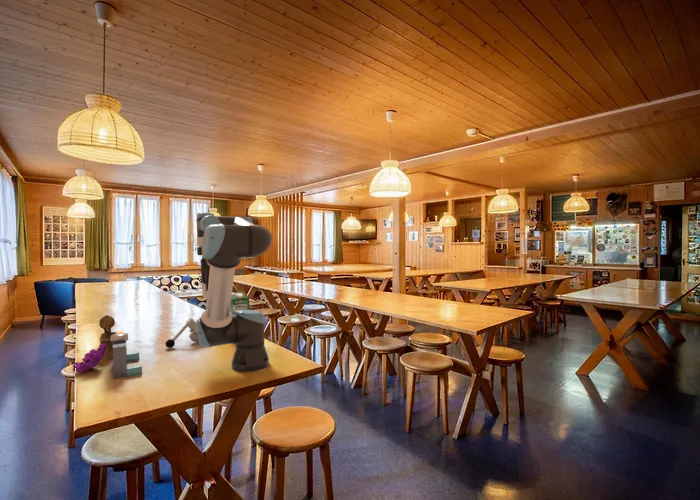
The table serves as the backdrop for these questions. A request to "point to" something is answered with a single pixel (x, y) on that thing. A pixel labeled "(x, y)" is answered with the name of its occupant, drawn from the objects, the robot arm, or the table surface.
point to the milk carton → (239, 302)
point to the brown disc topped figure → (107, 336)
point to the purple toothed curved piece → (90, 359)
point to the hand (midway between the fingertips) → (206, 296)
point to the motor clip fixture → (123, 357)
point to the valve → (189, 323)
